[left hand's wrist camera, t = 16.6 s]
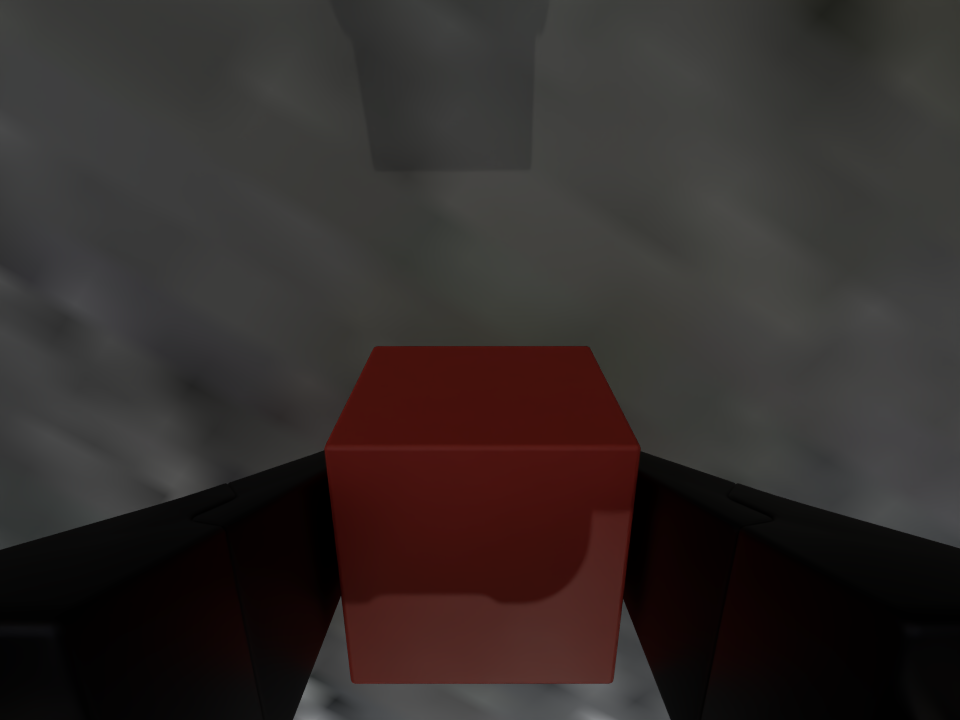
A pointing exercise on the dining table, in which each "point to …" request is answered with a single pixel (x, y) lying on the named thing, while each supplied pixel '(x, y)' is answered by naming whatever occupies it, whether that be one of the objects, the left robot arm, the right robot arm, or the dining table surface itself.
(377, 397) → the block
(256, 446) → the dining table surface
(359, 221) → the dining table surface
